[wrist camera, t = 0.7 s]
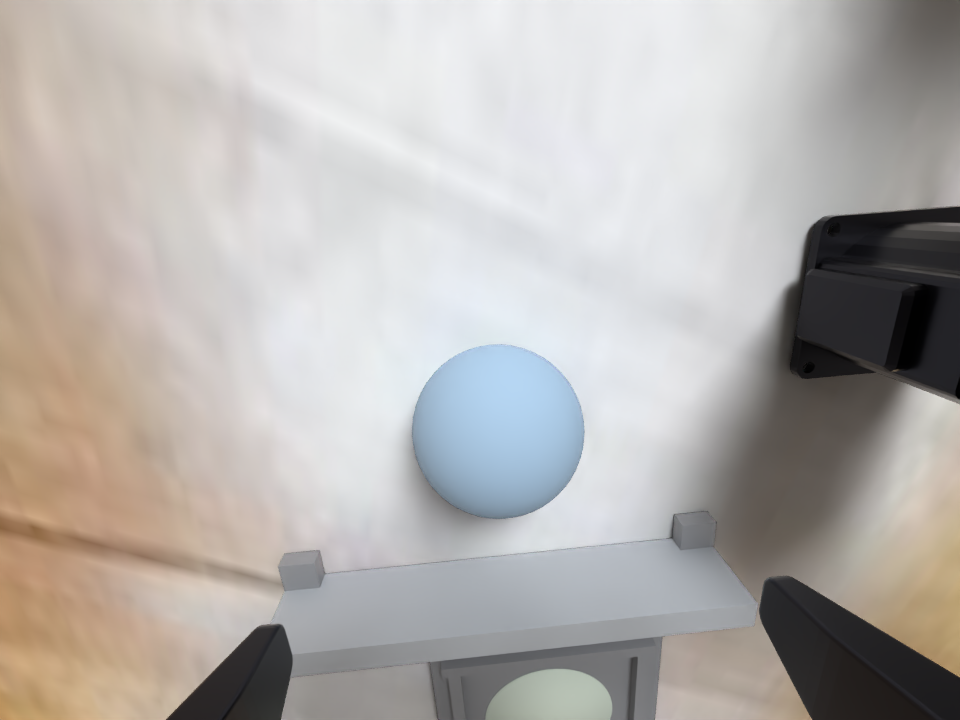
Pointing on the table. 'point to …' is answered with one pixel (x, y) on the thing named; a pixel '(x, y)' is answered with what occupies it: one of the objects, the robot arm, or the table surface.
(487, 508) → the ball
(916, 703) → the robot arm
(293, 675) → the long gray bar
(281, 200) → the table surface
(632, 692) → the gray square tray
